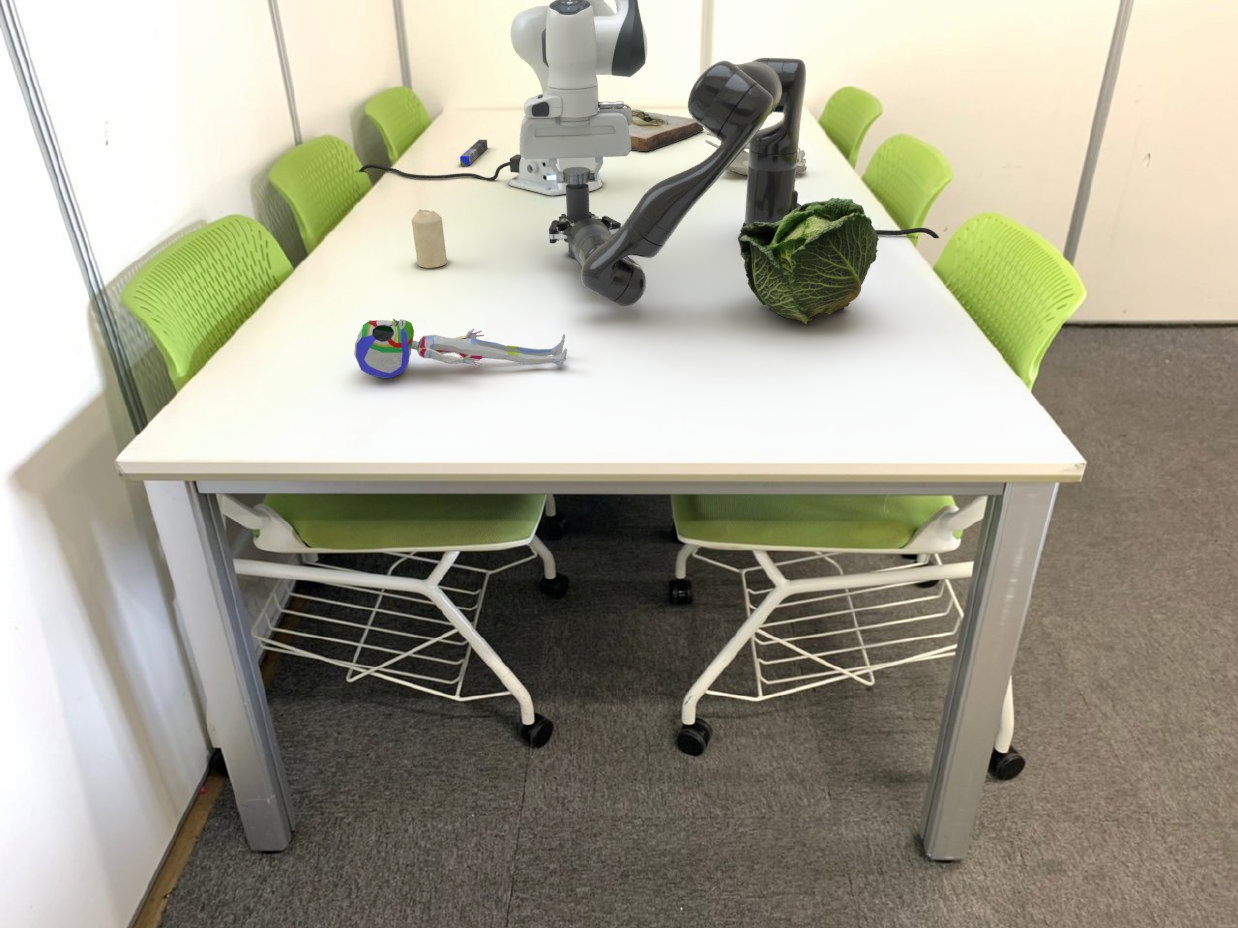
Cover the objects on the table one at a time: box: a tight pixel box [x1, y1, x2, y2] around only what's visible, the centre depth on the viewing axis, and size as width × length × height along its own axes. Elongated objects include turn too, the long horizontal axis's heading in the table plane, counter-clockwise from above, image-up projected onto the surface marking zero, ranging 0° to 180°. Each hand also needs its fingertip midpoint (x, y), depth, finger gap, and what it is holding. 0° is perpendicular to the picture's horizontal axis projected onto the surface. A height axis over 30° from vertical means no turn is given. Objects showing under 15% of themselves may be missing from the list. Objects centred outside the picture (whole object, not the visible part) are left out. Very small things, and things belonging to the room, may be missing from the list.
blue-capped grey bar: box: [459, 139, 488, 167], centre depth 240 cm, size 2×2×20 cm
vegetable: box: [737, 197, 879, 325], centre depth 143 cm, size 20×19×20 cm
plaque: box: [629, 108, 705, 152], centre depth 257 cm, size 30×7×30 cm
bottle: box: [565, 184, 590, 260], centre depth 169 cm, size 4×4×15 cm
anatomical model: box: [705, 131, 808, 176], centre depth 220 cm, size 15×9×25 cm
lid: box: [563, 167, 590, 185], centre depth 165 cm, size 5×5×2 cm
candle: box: [411, 209, 448, 269], centre depth 167 cm, size 6×6×10 cm
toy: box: [353, 318, 568, 379], centre depth 130 cm, size 10×8×30 cm
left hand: (576, 182), depth 166 cm, fingers closed on lid, 5 cm apart
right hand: (575, 218), depth 172 cm, fingers closed on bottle, 4 cm apart
